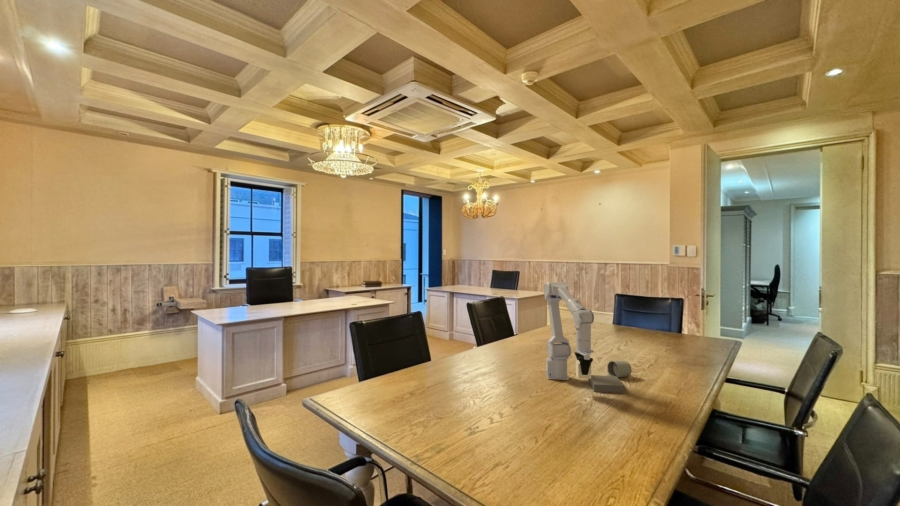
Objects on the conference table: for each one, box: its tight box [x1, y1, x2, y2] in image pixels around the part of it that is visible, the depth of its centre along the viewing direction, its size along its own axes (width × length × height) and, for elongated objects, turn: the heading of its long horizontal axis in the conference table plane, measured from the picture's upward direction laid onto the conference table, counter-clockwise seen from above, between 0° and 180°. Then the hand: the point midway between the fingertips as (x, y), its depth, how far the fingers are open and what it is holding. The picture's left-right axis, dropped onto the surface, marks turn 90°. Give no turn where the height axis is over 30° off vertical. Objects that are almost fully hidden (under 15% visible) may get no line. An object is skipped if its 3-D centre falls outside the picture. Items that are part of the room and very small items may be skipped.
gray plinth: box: [587, 374, 626, 394], centre depth 157 cm, size 12×12×3 cm
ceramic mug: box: [606, 360, 633, 379], centre depth 172 cm, size 11×8×8 cm
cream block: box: [575, 359, 592, 380], centre depth 150 cm, size 5×5×6 cm
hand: (583, 372), depth 150 cm, fingers closed on cream block, 5 cm apart
